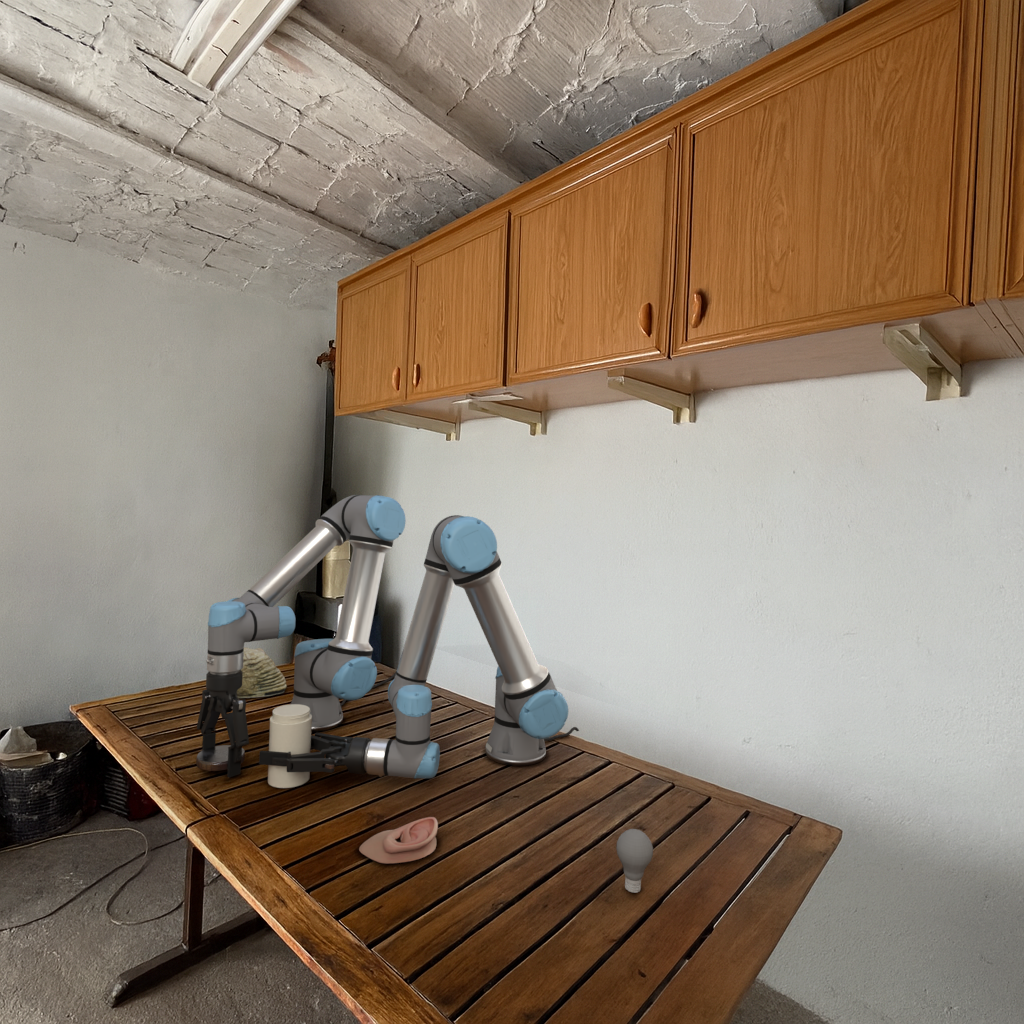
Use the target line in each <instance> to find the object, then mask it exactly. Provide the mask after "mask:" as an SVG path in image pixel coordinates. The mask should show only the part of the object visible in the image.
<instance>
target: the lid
mask: <svg viewBox="0 0 1024 1024" xmlns="http://www.w3.org/2000/svg"><path fill="white" fill-rule="evenodd" d="M230 746H231V744H224V745H215V747H211V748H208V749H205V750H203V751H202V750H201V751H200V752H198V754H197V755H196V761H195V763H196V767H197V769H200V770H202V771H207V772H208V771H209V772H219V771H226V770H228V747H230ZM245 751H246V750H245V749H244V748H243V747H242V759H241V764H243V763H244V761H245V758H246V752H245Z"/></svg>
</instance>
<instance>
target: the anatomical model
mask: <svg viewBox="0 0 1024 1024" xmlns="http://www.w3.org/2000/svg"><path fill="white" fill-rule="evenodd" d="M438 830H439V822H438V819H437V818H436V817H434V816H428V817H423V818H419V819H417V820H414V821H410V822H409V823H407V824H404V825H401V826H398V827H397V828H395V829H388V830H383V831H381V832H378V833H376V834H374V835H372V836H371V837H369V838H368V839H366V840H365V841H364V842H363V843H362V844H361V845H360V846H359V848H358V850H359V852H360V853H361V854H362V855H364V857H366V858H368V859H369V860H372V861H374V862H377V863H380V864H399V863H400V864H401V863H409V862H413V861H417V860H420V859H422V858H426V857H427V856H429V855H431V854H432V853H433V852H435V850H436V847H437V837H436V836H437V834H438Z"/></svg>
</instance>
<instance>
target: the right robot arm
mask: <svg viewBox="0 0 1024 1024" xmlns="http://www.w3.org/2000/svg"><path fill="white" fill-rule="evenodd" d="M430 535H431V536H430V539H429V543H428V547H427V551H426V553H425V558H424V562H423V567H424V568H425V573H424V577H423V580H422V584H421V587H420V590H419V594H418V597H417V600H416V604H415V607H414V611H413V614H412V618H411V621H410V624H409V627H408V631H407V635H406V638H405V640H404V641H405V642H404V644H403V648H402V651H401V654H400V659H399V662H398V665H397V668H396V671H397V672H396V671H395V672H396V675H395V676H394V677H393V678H392V679H391V682H390V683H389V685H388V688H387V699H388V702H389V704H390V706H391V708H392V710H393V713H394V716H395V739H390V738H378V737H373V738H372V739H371V738H370V737H361V736H354V737H352V736H339V735H335V734H330V733H324V732H314V735H313V734H311V751H312V750H316V751H315V752H311V753H304V754H295V755H291V752H288V753H287V752H274V751H269V750H260V751H259V753H258V765H260V766H261V765H264V766H268V765H274V766H287V772H310V773H319V772H320V773H321V772H323V773H329V774H330V773H335V768H336V767H342V766H343V767H344V766H345V767H346V769H347V771H348V773H350V774H356V775H365V774H366V773H367V775H372V776H378V777H379V778H382V777H383V776H386V777H399V778H409V779H414V780H417V779H420V780H421V779H424V780H426V779H433V778H434V777H435V776H436V775H437V773H438V771H439V765H440V759H441V750H440V749H441V748H440V745H439V743H437V742H433V741H431V722H432V708H433V702H432V690H431V689H430V688H429V687H428V686H426V684H427V681H428V676H429V673H430V670H431V666H432V663H433V660H434V656H435V653H436V650H437V646H438V642H439V640H440V636H441V632H442V630H443V625H444V623H445V619H446V616H447V612H448V609H449V606H450V603H451V602H450V601H451V598H452V595H453V593H454V589H455V586H456V587H459V588H462V589H463V590H464V592H465V594H466V597H467V598H468V601H469V603H470V605H471V608H472V610H473V612H474V614H475V616H476V619H477V621H478V623H479V625H480V628H481V631H482V632H483V634H484V637H485V639H486V641H487V644H488V646H489V648H490V650H491V652H492V655H493V657H494V659H495V662H496V664H497V667H496V675H495V678H494V679H495V692H494V694H495V695H494V697H495V698H494V719H493V725H492V728H491V730H490V733H489V735H488V738H487V741H486V744H485V755H486V756H487V758H488V759H490V760H491V761H493V762H495V763H498V764H502V765H505V766H511V767H512V766H514V767H523V766H525V767H526V766H532V765H535V764H539V763H541V762H542V761H543V760H545V758H546V756H547V747H546V742H550V741H554V740H556V739H561V738H566V737H569V736H570V735H571V734H572V733H573V732H574V731H575V732H580V730H579V729H580V728H578V727H577V726H574V727H571V729H569V730H568V731H567V732H565V733H561V734H558V733H559V732H560V731H561V730H562V729H563V728H564V726H565V725H566V722H567V720H568V717H569V704H568V702H567V700H566V698H565V696H564V694H563V693H562V692H560V691H559V690H558V688H557V687H556V684H555V682H554V680H553V678H552V676H551V673H550V671H549V669H548V667H546V665H542V664H540V663H539V662H538V660H537V658H536V656H535V653H534V650H533V649H532V646H531V643H530V642H529V639H528V637H527V635H526V631H525V630H524V628H523V626H522V623H521V621H520V618H519V616H518V613H517V612H516V609H515V607H514V605H513V602H512V600H511V598H510V596H509V593H508V591H507V589H506V587H505V584H504V582H503V580H502V577H501V574H500V571H501V569H502V565H503V562H502V560H501V558H500V555H499V553H498V541H497V537H496V534H495V532H494V531H493V529H492V528H491V527H490V526H489V525H488V524H487V523H486V522H484V521H483V520H482V519H479V518H477V517H475V516H465V515H459V514H454V515H453V514H452V515H448V516H446V517H444V518H442V519H441V520H440V521H439V522H438V523H437V524H436V525H435V527H434V528H433V530H432V532H431V534H430Z"/></svg>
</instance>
